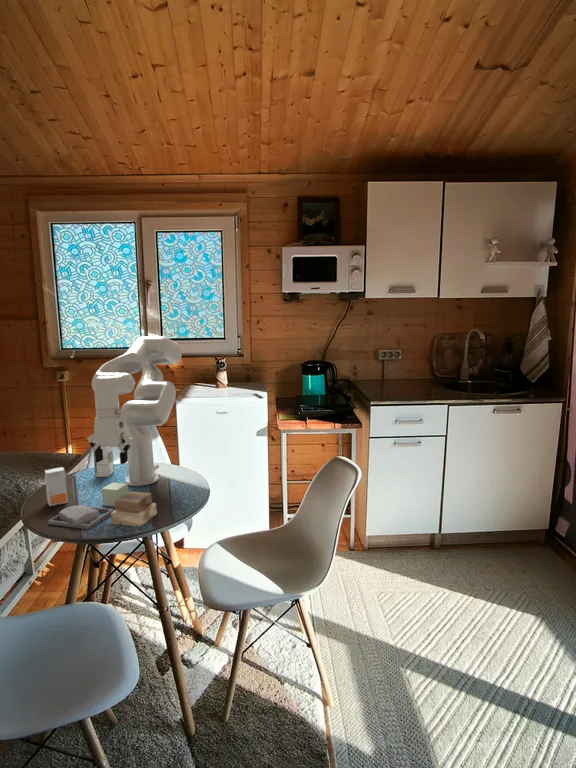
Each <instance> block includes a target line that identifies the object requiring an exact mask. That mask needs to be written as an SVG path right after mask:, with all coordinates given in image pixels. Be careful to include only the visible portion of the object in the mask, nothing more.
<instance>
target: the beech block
mask: <svg viewBox="0 0 576 768" xmlns="http://www.w3.org/2000/svg"><path fill="white" fill-rule="evenodd" d="M157 510H158V509H157V503H156V502H152V504H151V505H149V506H148V507H147V508H145V509H144V510H142V511H141V512H140V513H138V514H137V513H128V512H119V511H116V509H113V512H111V515H110V516H111V524H113V525H119V524H122V526H128V525H129V527H136V526H139V528H140V527H142V526H143V525H144V524H146V523H147V522H149V521H150V520H151V519H152V518H153V517H155V516H156V515H157V514H158V511H157ZM141 525H142V526H141Z"/></svg>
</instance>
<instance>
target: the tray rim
mask: <svg viewBox="0 0 576 768" xmlns="http://www.w3.org/2000/svg"><path fill="white" fill-rule="evenodd" d="M78 505H79V504H78ZM78 505H77V504H74V506H78ZM87 507H90V508H92V509H97V510H99V513H103V514H102V515H101V516H98V518H97V519H96V520H95V521H93V522H91V523H88V524H77V525H76V527H74V524H73V523H70V522H63V521H61V520H60V519H59V514H58V515H55V516H54V517H52V518H50V519H48V520H47V524H48V525H53V526H60V527H67V528H68V527H69V528H77V529H83V530H90V529H92V528H93V527H94V526H96V525H97V524H99V523H100V522H102V521H103V520H105V519H107V518H108V517H109V516H111V512H113V511H114V509H113V508H105V507H104V508H103V507H95V506H87Z"/></svg>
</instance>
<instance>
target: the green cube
mask: <svg viewBox="0 0 576 768" xmlns="http://www.w3.org/2000/svg"><path fill="white" fill-rule="evenodd" d="M128 487H129V485H127V484H126V483H123V482H122V483H120V482H111V483H109V484H107V485H106V486H104V487H102V488H101V493H102V494H101V495H102V503H103V504H102V506H108V507H109V506H110V507H115V500H117V499H118V498H120V497H122V496H123V495H125V494H126V493H128V492H129V489H128Z"/></svg>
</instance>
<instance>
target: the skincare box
mask: <svg viewBox="0 0 576 768" xmlns="http://www.w3.org/2000/svg"><path fill="white" fill-rule="evenodd" d="M44 479H45V480H44V481H45V489H46V500H47V504H48V506H49V507H53V506H58V505H63V504H68V503H69V501H68V492H67V491H68V490H67V479H66V470H65V468H64V467H63V466H62V467H61V466H60V467H56V468H51V469H50V468H49V469H45V470H44ZM57 504H58V505H57Z"/></svg>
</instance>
